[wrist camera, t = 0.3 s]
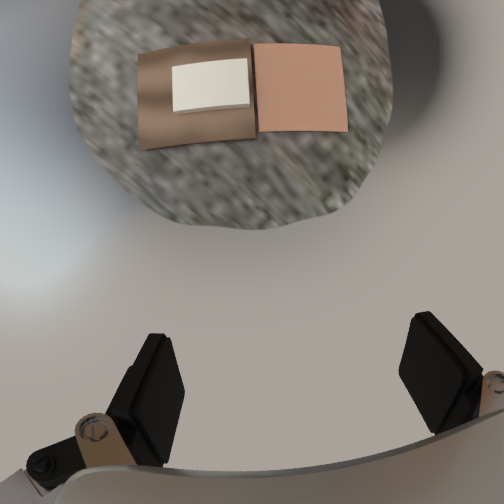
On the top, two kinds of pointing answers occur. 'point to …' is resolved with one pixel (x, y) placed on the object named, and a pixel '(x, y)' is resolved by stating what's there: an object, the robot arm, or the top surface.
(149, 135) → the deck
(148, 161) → the top surface
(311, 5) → the top surface
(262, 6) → the top surface
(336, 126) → the mat
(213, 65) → the tile
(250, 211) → the top surface
